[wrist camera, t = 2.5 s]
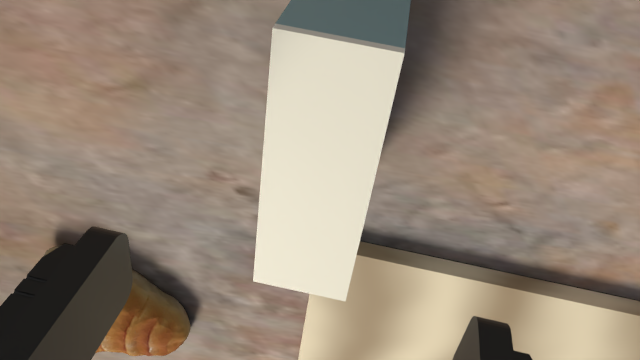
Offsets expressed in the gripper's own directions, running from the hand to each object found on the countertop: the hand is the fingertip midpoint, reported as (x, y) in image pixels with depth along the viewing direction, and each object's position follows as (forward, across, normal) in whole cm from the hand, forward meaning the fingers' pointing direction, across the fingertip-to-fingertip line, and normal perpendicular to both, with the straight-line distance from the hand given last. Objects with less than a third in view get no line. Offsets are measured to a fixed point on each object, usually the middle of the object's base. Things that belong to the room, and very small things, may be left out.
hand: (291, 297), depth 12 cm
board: (+12, -9, +16) cm, 22 cm away
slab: (+12, 0, 0) cm, 12 cm away
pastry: (+12, +12, +17) cm, 25 cm away
